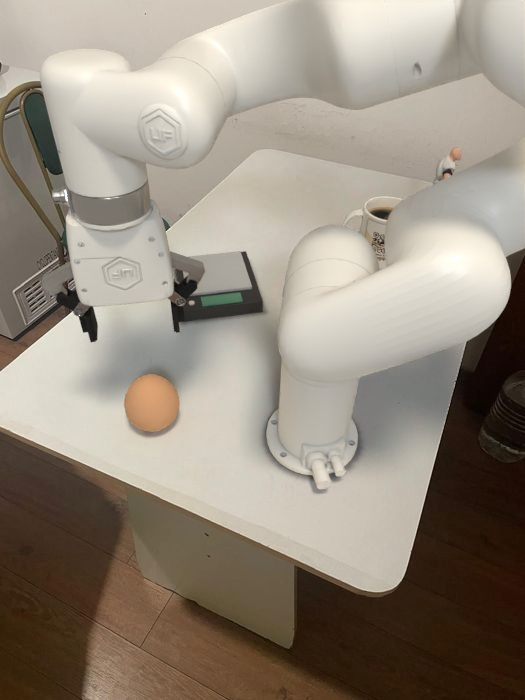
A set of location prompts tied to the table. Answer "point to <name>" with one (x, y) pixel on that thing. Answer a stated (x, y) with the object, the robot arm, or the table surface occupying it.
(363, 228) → the mug
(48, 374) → the table surface
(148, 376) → the egg
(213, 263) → the scale
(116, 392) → the table surface
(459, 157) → the figurine
